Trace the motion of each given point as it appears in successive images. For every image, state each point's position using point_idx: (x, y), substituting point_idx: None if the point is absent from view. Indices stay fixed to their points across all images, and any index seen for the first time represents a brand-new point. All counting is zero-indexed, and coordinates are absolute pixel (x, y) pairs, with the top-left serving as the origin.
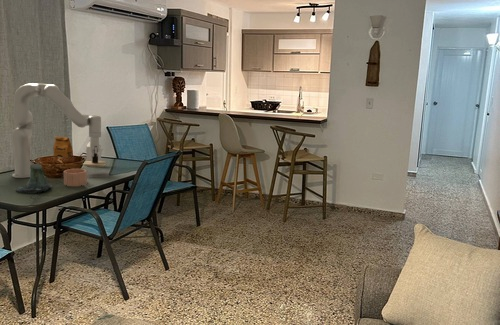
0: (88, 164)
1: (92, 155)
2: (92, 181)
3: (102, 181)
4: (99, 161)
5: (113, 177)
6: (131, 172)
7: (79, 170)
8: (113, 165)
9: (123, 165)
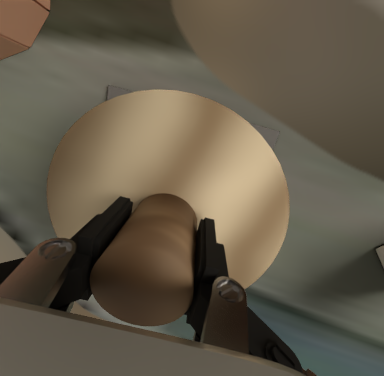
0: (90, 130)
1: (144, 257)
2: (15, 108)
3: (4, 163)
4: None
5: None
6: None
7: None
8: (354, 337)
9: (320, 366)
